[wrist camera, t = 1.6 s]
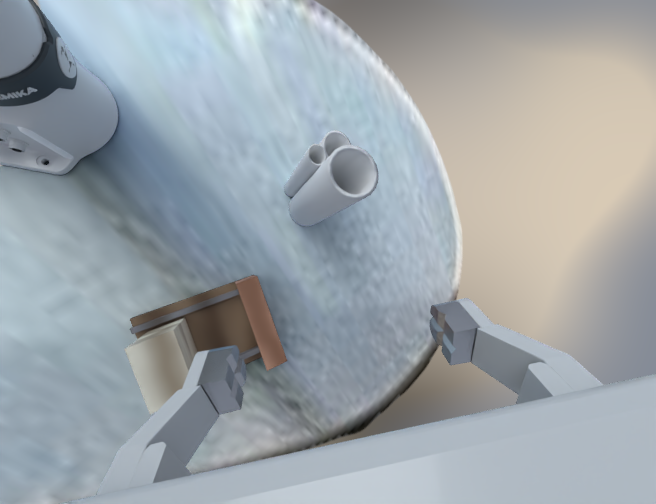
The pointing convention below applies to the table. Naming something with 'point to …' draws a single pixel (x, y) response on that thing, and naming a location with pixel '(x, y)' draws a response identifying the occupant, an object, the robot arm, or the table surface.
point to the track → (224, 321)
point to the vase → (329, 179)
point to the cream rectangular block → (162, 362)
